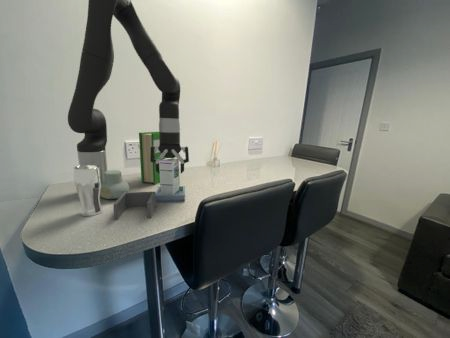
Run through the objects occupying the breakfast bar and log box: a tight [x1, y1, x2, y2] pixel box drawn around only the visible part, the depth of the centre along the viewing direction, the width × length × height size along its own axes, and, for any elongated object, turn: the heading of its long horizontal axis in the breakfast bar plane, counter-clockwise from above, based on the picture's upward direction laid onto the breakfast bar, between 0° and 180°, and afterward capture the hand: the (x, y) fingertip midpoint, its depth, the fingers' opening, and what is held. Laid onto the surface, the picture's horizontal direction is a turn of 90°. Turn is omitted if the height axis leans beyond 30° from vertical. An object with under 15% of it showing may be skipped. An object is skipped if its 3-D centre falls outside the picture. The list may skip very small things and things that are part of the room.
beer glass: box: [73, 165, 104, 217], centre depth 63 cm, size 7×7×15 cm
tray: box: [155, 185, 186, 203], centre depth 81 cm, size 11×11×2 cm
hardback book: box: [138, 131, 166, 185], centre depth 102 cm, size 18×7×24 cm, turn 166°
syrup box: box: [159, 157, 181, 195], centre depth 79 cm, size 6×6×14 cm
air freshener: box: [100, 169, 131, 200], centre depth 77 cm, size 11×8×10 cm
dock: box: [112, 191, 157, 220], centre depth 66 cm, size 10×10×5 cm
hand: (170, 172), depth 79 cm, fingers open, 8 cm apart
